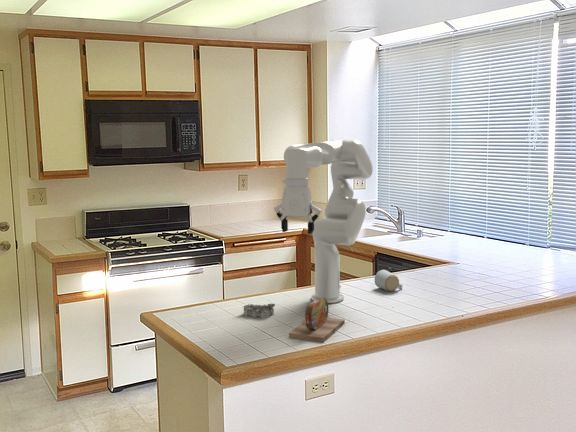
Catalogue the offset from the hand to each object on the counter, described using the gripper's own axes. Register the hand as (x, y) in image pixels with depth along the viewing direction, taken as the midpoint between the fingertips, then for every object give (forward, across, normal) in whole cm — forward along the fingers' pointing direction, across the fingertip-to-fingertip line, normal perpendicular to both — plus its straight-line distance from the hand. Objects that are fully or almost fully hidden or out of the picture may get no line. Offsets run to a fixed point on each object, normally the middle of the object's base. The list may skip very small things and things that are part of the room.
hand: (297, 232), depth 222 cm
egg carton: (+31, -14, -4) cm, 34 cm away
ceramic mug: (+31, +20, +47) cm, 60 cm away
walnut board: (+30, +12, -12) cm, 35 cm away
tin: (+29, +12, -12) cm, 33 cm away
